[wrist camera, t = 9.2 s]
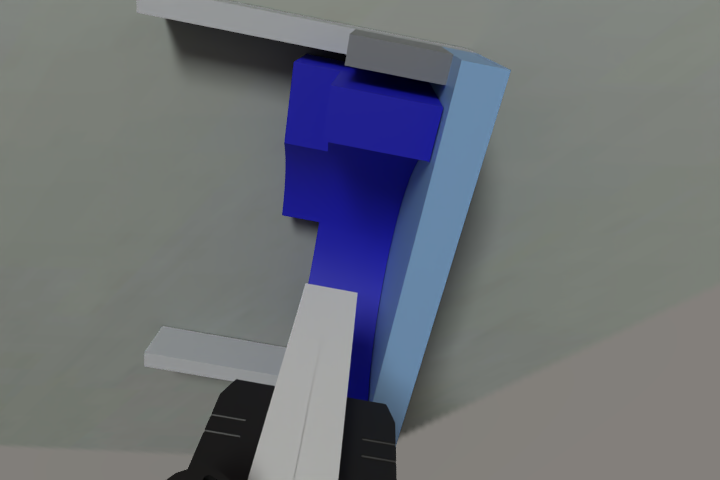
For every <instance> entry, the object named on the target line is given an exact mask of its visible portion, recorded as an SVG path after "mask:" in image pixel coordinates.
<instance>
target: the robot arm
mask: <svg viewBox="0 0 720 480" xmlns="http://www.w3.org/2000/svg"><path fill="white" fill-rule="evenodd" d="M357 294H358V293H356V292H351V291H345V290H340V289H334V288H329V287H323V286H318V285H312V284H307V283H306V284H305V287H304V290H303V294H302V297H301V301H300V304H299V307H298V311H297V314H296V318H295V321H294V324H293V328H292V331H291V335H290V338H289V341H288V345H287V348H286V351H285V355H284V358H283V362H282V365H281V368H280V372H279V375H278V379H277V382H276V385H275V386H273V385H267V384H261V383H255V382H250V381H244V380H238V379H236V380H235V381H234V382H233V383H231V384H230V385H229V386H228V387H227V388H226V389H225V390H224V391H223V392H222V393H221V394H220V396H219V398H218V400H217V402H216V405H215V407H214V409H213V412H212V415H211V417H210V419H209V421H208V423H207V426H206V428H205V432H204V433H203V435H202V437H201V440H200V442H199V444H198V446H197V449H196V451H195V453H194V456H193V458H192V460H191V463H190V465H189V467H188V469H187V470H184V471H181V472H178V473H175V474H174V475H173V476H171V477H170V478H168V479H167V480H396V447H395V444H396V435H395V421H394V419H393V417H392V415H391V413H390V411H389V409H388V407H387V405H386V404H383V403H377V402H371V401H366V400H360V399H354V398H349V397H347V391H348V381H349V371H350V362H351V352H352V342H353V333H354V323H355V313H356V303H357Z"/></svg>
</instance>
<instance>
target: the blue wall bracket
mask: <svg viewBox="0 0 720 480" xmlns="http://www.w3.org/2000/svg"><path fill="white" fill-rule="evenodd" d="M137 13H142V14H147V15H152V16H157V17H162V18H167V19H172V20H177V21H182V22H187V23H192V24H197V25H202V26H207V27H212V28H217V29H222V30H227V31H232V32H237V33H242V34H247V35H252V36H257V37H262V38H267V39H272V40H277V41H282V42H287V43H292V44H297V45H302V46H307V47H312V48H317V49H322V50H327V51H332V52H337V53H342V54H346V60H345V66H350V67H355V68H360V69H365V70H370V71H376V72H381V73H386V74H391V75H396V76H401V77H406V78H411V79H416V80H421V81H426V82H429V83H430V85H431V86H432V88H433V90H434V92H435V94H436V95H437V97H438V99H439V101H440V102H441V104H442V106H443V111H442V115H441V119H440V123H439V127H438V130H437V134H436V138H435V142H434V146H433V150H432V154H431V158H430V162H428V161H423V160H418V162H417V164H416V166H415V168H414V170H413V172H412V174H411V177H410V179H409V182H408V185H407V188H406V191H405V194H404V197H403V200H402V204H401V207H400V211H399V214H398V218H397V222H396V226H395V230H394V234H393V238H392V242H391V247H390V251H389V256H388V260H387V265H386V270H385V275H384V280H383V286H382V291H381V297H380V303H379V309H378V315H377V321H376V328H375V335H374V343H373V351H372V359H371V369H370V380H369V394H368V401H371V402H377V403H383V404H386V405H387V407H388V409H389V411H390V413H391V415H392V417H393V419H394V421H395V435H396V444H397V440H398V437H399V434H400V431H401V427H402V424H403V421H404V418H405V414H406V411H407V408H408V404H409V401H410V398H411V395H412V391H413V388H414V385H415V382H416V378H417V375H418V372H419V369H420V365H421V362H422V359H423V355H424V352H425V349H426V346H427V342H428V339H429V336H430V333H431V329H432V326H433V323H434V320H435V316H436V313H437V310H438V306H439V303H440V300H441V297H442V293H443V290H444V287H445V284H446V280H447V277H448V274H449V271H450V267H451V264H452V261H453V257H454V254H455V251H456V248H457V244H458V241H459V238H460V235H461V231H462V228H463V225H464V222H465V218H466V215H467V212H468V208H469V205H470V202H471V199H472V195H473V192H474V189H475V186H476V182H477V179H478V176H479V173H480V169H481V166H482V163H483V159H484V156H485V153H486V150H487V146H488V143H489V140H490V137H491V133H492V130H493V127H494V124H495V120H496V117H497V114H498V110H499V107H500V104H501V101H502V97H503V94H504V91H505V88H506V84H507V81H508V78H509V75H510V71H511V70H510V69H508V68H506V67H504V66H502V65H499V64H497V63H495V62H493V61H491V60H489V59H487V58H485V57H483V56H481V55H479V54H477V53H475V52H473V51H471V50H469V49H466V48H461V47H456V46H451V45H446V44H441V43H436V42H431V41H427V40H422V39H417V38H412V37H407V36H402V35H397V34H392V33H387V32H382V31H377V30H372V29H367V28H362V27H357V26H352V25H347V24H342V23H337V22H332V21H328V20H323V19H318V18H313V17H308V16H303V15H298V14H293V13H288V12H283V11H278V10H273V9H268V8H263V7H258V6H253V5H248V4H243V3H238V2H234V1H229V0H137ZM285 351H286V347H281V346H275V345H269V344H263V343H258V342H252V341H246V340H240V339H235V338H229V337H223V336H218V335H212V334H206V333H200V332H195V331H189V330H183V329H177V328H172V327H166V326H162V327H161V329H160V330H159V332H158V333H157V335H156V336H155V337H154V339H153V340H152V342H151V343H150V345H149V346H148V348H147V349H146V350H145V352H144V366H146V367H152V368H158V369H163V370H169V371H175V372H181V373H187V374H193V375H199V376H204V377H210V378H216V379H222V380H228V381H235V380H236V379H238V380H244V381H250V382H255V383H261V384H267V385H273V386H275V385H276V382H277V379H278V375H279V372H280V368H281V365H282V362H283V358H284V355H285ZM396 444H395V447H396Z"/></svg>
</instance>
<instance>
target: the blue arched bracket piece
mask: <svg viewBox="0 0 720 480" xmlns="http://www.w3.org/2000/svg"><path fill="white" fill-rule="evenodd" d="M442 111H443V106H442V104H441V102H440V101H439V99H438V97H437V95H436V94H435V92H434V90H433V88H432V86H431V85H430V83H429V82H426V81H421V80H416V79H411V78H406V77H401V76H396V75H391V74H386V73H381V72H376V71H370V70H365V69H360V68H355V67H350V66H345V61H340V60H335V59H330V58H325V57H320V56H315V55H310V54H306V55H304V56H303V57H301V58H299V59H298V60H296V61H294V65H293V73H292V82H291V91H290V99H289V108H288V117H287V125H286V134H285V142H284V144H285V156H286V174H285V192H284V203H283V212H282V215H284V216H289V217H295V218H300V219H305V220H311V221H316V222H319V227H318V233H317V239H316V245H315V251H314V256H313V262H312V267H311V272H310V278H309V283H308V284H312V285H318V286H323V287H329V288H334V289H340V290H345V291H351V292H356V293H358V294H357V303H356V313H355V323H354V333H353V342H352V352H351V362H350V371H349V381H348V391H347V397H349V398H354V399H360V400H366V401H368V394H369V380H370V369H371V359H372V351H373V343H374V335H375V328H376V321H377V315H378V309H379V303H380V297H381V291H382V286H383V280H384V275H385V270H386V265H387V260H388V256H389V251H390V247H391V242H392V238H393V234H394V230H395V226H396V222H397V218H398V214H399V211H400V207H401V204H402V200H403V197H404V194H405V191H406V188H407V185H408V182H409V179H410V177H411V174H412V172H413V170H414V168H415V166H416V164H417V162H418V160H423V161H428V162H430V158H431V154H432V150H433V146H434V142H435V138H436V134H437V130H438V127H439V123H440V119H441V115H442Z"/></svg>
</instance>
